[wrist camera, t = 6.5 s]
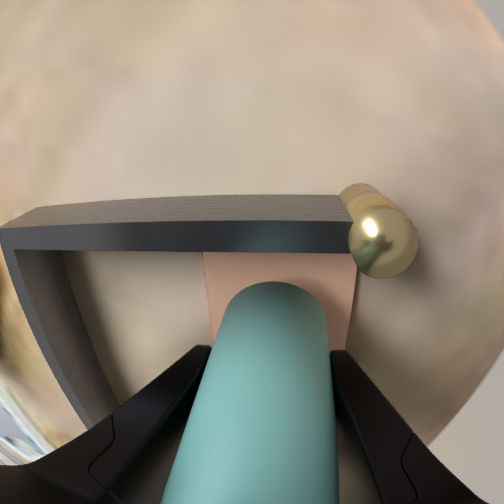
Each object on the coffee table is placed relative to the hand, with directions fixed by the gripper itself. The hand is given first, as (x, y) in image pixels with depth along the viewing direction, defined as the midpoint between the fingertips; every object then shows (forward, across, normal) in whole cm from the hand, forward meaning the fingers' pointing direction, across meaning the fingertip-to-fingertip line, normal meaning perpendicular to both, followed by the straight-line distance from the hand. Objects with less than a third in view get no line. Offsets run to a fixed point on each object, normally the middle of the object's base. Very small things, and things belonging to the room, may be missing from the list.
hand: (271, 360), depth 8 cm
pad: (+3, 0, 0) cm, 3 cm away
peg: (+2, 0, 0) cm, 2 cm away
